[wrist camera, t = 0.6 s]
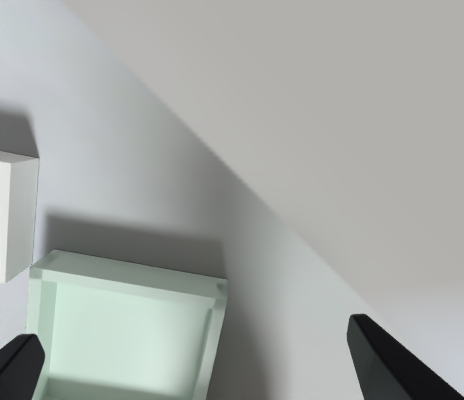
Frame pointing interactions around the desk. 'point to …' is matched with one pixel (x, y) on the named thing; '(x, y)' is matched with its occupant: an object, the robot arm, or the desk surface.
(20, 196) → the socket block
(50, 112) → the desk surface
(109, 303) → the tray
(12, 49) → the desk surface
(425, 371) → the robot arm
